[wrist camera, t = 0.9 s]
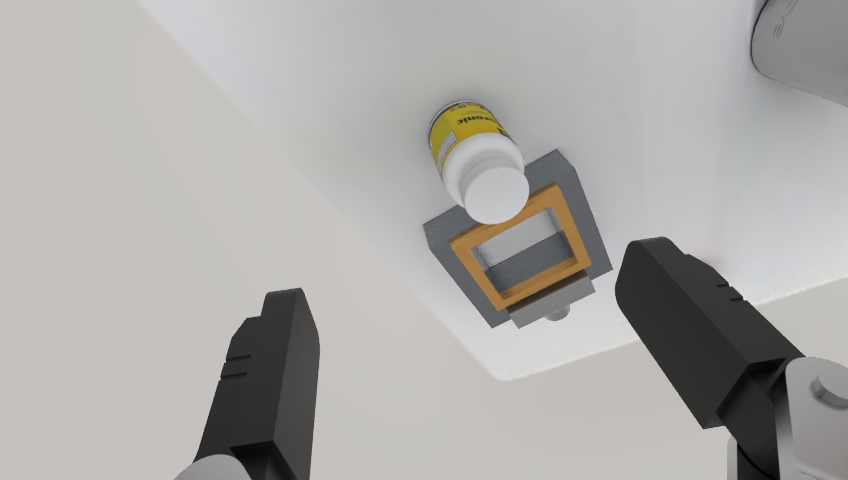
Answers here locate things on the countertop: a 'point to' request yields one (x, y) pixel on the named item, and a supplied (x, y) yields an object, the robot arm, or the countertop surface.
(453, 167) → the supplement bottle
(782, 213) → the countertop surface
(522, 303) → the grey drawer
